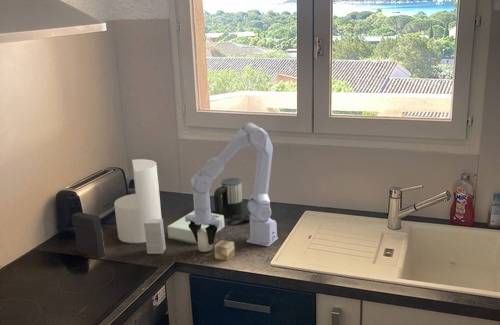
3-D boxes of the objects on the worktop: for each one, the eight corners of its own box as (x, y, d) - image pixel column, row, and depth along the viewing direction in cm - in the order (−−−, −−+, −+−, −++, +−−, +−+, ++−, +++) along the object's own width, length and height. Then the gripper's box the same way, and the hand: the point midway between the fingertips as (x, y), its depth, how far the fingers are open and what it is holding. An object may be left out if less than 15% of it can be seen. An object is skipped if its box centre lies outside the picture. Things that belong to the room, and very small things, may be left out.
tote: (224, 227, 214) (223, 215, 213) (198, 244, 200) (197, 232, 198) (195, 221, 221) (194, 210, 220) (168, 238, 206) (167, 226, 205)
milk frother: (228, 209, 233) (226, 176, 229) (261, 213, 227) (260, 180, 222) (212, 221, 221) (209, 186, 217) (246, 226, 214) (244, 191, 210)
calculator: (106, 254, 195) (101, 215, 191) (97, 258, 192) (92, 219, 188) (85, 248, 201) (79, 210, 197) (76, 253, 197) (70, 214, 193)
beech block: (234, 255, 190) (234, 242, 189) (227, 261, 186) (226, 247, 185) (222, 252, 193) (222, 239, 191) (215, 258, 189) (214, 245, 187)
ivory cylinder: (214, 247, 195) (213, 229, 193) (207, 252, 191) (205, 234, 189) (203, 244, 198) (202, 227, 196) (195, 250, 194) (194, 232, 192)
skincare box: (166, 248, 197) (163, 218, 194) (163, 254, 193) (160, 223, 190) (149, 248, 198) (146, 218, 195) (146, 254, 194) (143, 223, 191)
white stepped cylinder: (160, 222, 222) (154, 157, 214) (165, 239, 206) (158, 169, 198) (117, 228, 218) (109, 162, 210) (118, 245, 202) (110, 174, 194)
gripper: (178, 208, 190) (181, 243, 194) (213, 214, 183) (215, 250, 187) (190, 201, 196) (193, 235, 200) (224, 207, 189) (226, 242, 193)
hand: (204, 242), depth 194 cm, fingers closed on ivory cylinder, 5 cm apart
